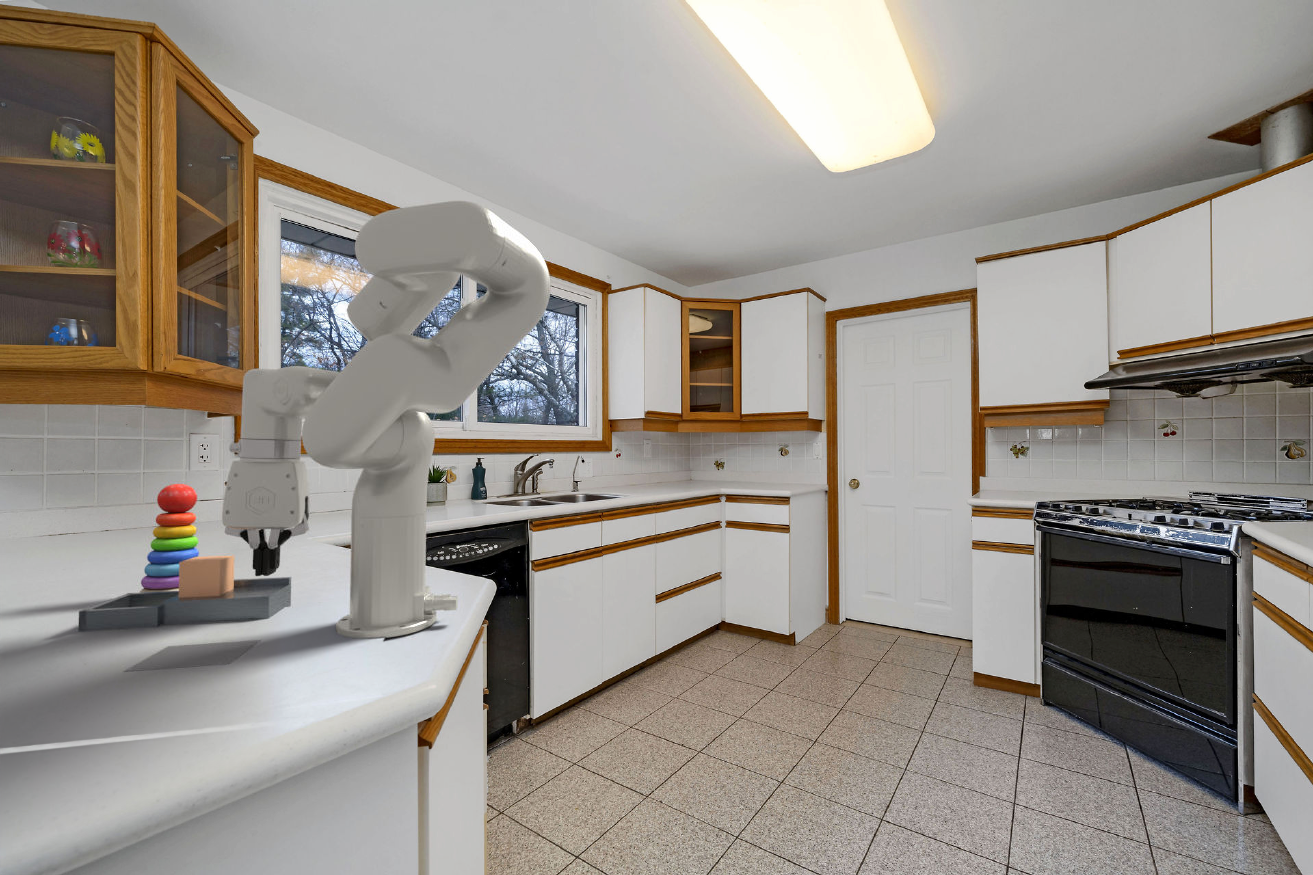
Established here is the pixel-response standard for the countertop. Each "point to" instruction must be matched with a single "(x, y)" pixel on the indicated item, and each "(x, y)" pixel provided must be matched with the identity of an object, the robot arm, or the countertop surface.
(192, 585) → the tan cardboard box
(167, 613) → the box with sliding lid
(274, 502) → the robot arm
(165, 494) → the stacking toy
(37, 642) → the countertop surface
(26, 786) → the countertop surface
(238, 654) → the mat
